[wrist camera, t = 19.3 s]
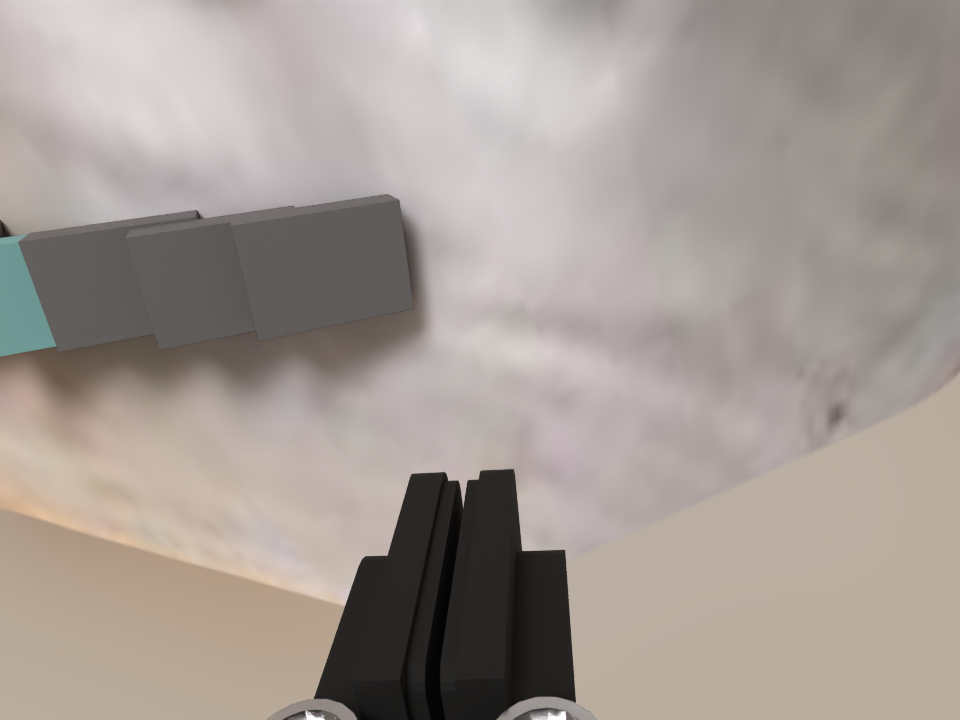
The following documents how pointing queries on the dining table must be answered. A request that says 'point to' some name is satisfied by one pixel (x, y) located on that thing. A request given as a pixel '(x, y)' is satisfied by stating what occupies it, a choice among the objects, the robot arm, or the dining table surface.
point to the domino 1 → (19, 304)
